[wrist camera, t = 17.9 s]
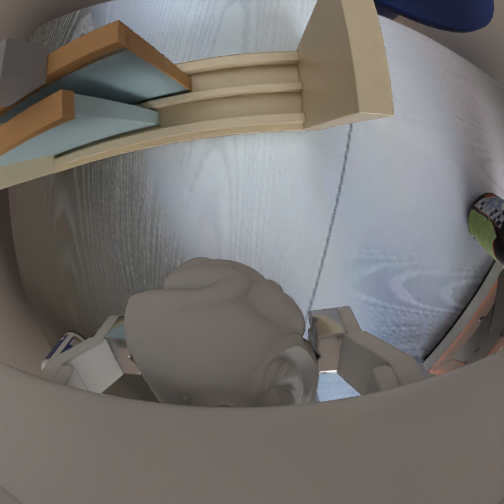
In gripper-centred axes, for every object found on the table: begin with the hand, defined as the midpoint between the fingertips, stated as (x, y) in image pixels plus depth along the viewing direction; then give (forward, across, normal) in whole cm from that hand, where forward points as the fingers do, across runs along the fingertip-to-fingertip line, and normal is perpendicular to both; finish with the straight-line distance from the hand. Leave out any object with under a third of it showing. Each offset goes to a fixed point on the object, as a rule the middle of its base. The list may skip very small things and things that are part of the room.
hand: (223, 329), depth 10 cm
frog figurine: (+3, 0, 0) cm, 3 cm away
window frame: (+15, +6, -11) cm, 20 cm away
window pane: (+14, +8, -12) cm, 20 cm away
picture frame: (+16, -36, +17) cm, 43 cm away
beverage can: (+16, -27, +1) cm, 31 cm away
